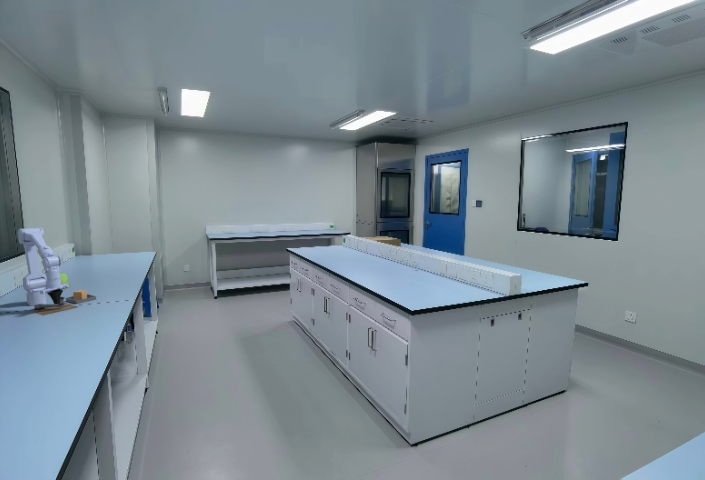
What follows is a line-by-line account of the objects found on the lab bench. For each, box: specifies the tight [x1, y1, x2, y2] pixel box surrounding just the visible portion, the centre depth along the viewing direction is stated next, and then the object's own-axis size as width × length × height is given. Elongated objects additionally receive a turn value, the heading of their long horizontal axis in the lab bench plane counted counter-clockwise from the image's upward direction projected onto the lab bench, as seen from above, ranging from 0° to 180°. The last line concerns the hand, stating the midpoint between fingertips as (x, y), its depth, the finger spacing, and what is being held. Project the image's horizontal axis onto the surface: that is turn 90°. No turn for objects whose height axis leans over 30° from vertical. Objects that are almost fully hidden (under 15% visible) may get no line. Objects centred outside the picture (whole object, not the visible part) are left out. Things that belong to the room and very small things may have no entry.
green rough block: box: [60, 272, 70, 290], centre depth 242 cm, size 18×10×10 cm, turn 71°
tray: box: [65, 293, 97, 305], centre depth 212 cm, size 12×10×3 cm
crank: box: [33, 296, 66, 310], centre depth 196 cm, size 16×4×6 cm, turn 89°
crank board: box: [27, 302, 79, 316], centre depth 197 cm, size 18×16×1 cm
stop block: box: [72, 289, 88, 300], centre depth 211 cm, size 4×4×6 cm
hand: (56, 303), depth 194 cm, fingers closed
